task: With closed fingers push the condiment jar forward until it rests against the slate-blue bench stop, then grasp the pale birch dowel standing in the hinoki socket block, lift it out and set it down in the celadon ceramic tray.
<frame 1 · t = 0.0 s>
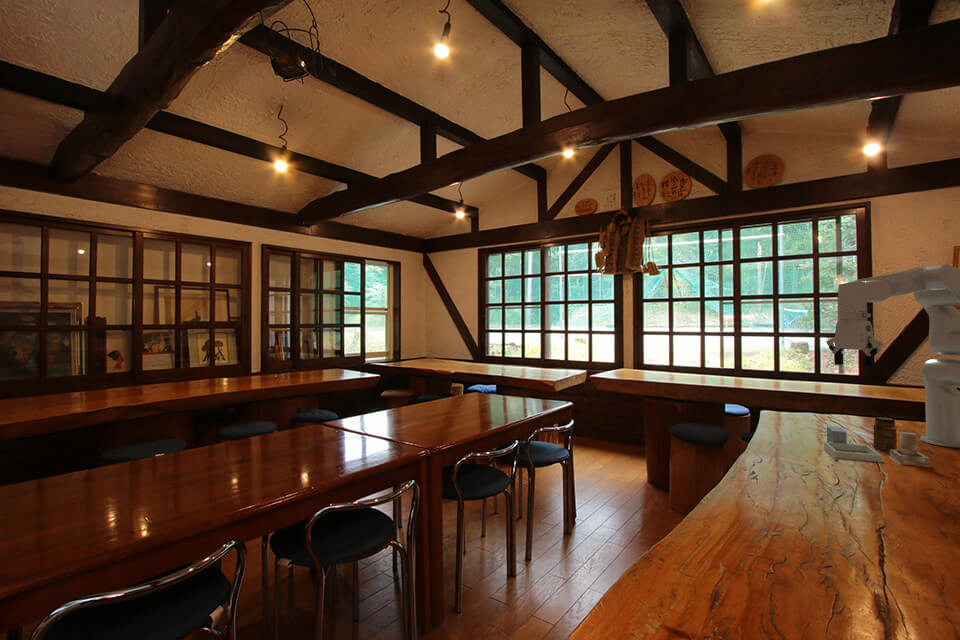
hand: (853, 366, 151), 31 cm above the table, tool pointing down, fingers open, 9 cm apart
socket block: (909, 464, 141), on the table
bench stop: (836, 448, 160), on the table
condiment: (884, 452, 154), on the table
tray: (851, 457, 150), on the table
dowel: (909, 461, 141), point 1 cm above the table, touching socket block
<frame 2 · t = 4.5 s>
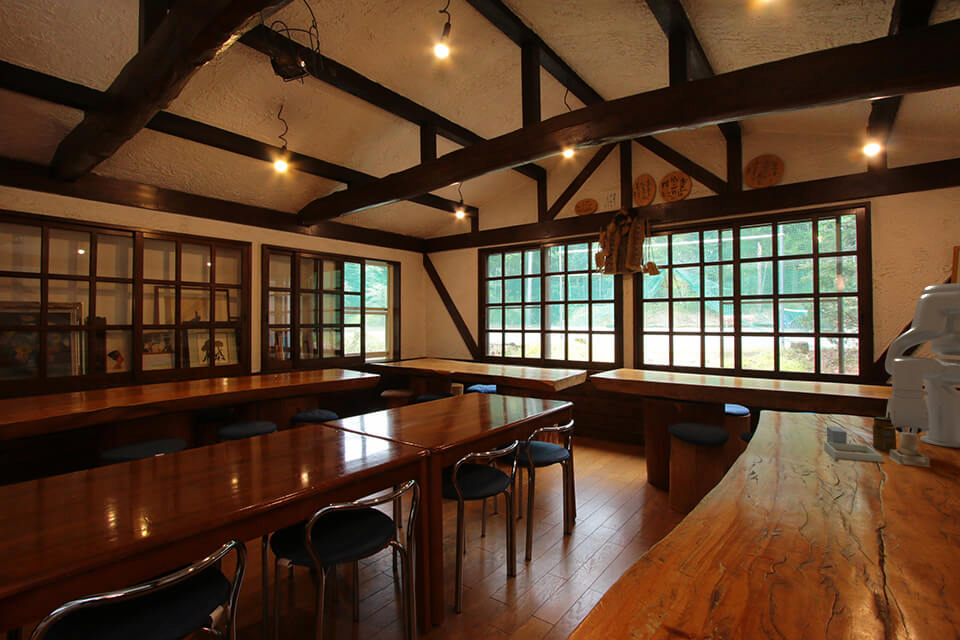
hand: (908, 446, 151), 3 cm above the table, tool pointing down, fingers closed
condiment: (884, 452, 154), on the table, touching gripper
everything else where it was.
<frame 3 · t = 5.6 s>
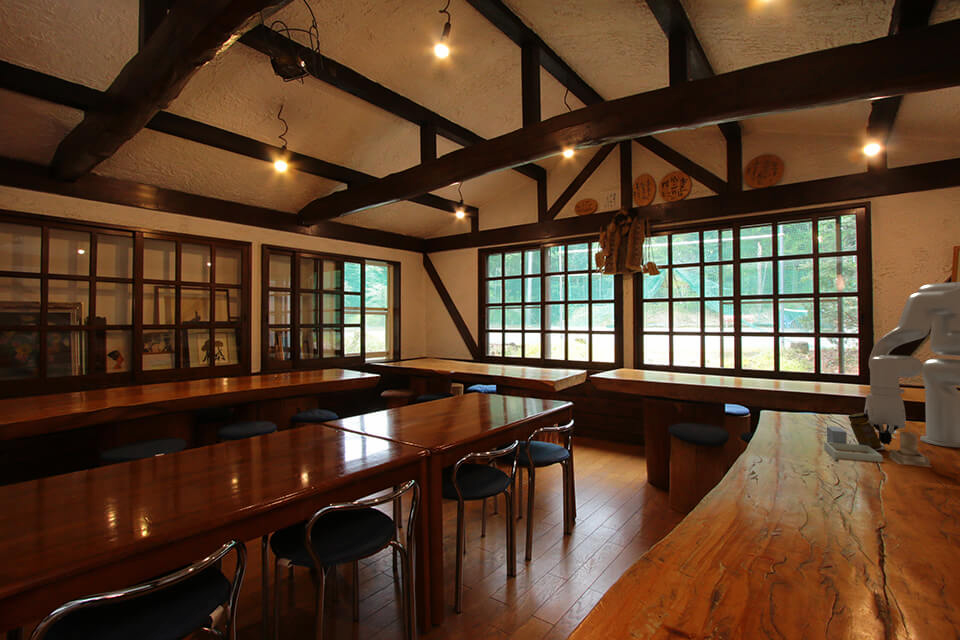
hand: (885, 443, 154), 3 cm above the table, tool pointing down, fingers closed
condiment: (871, 448, 155), point 1 cm above the table, touching gripper
everything else where it was.
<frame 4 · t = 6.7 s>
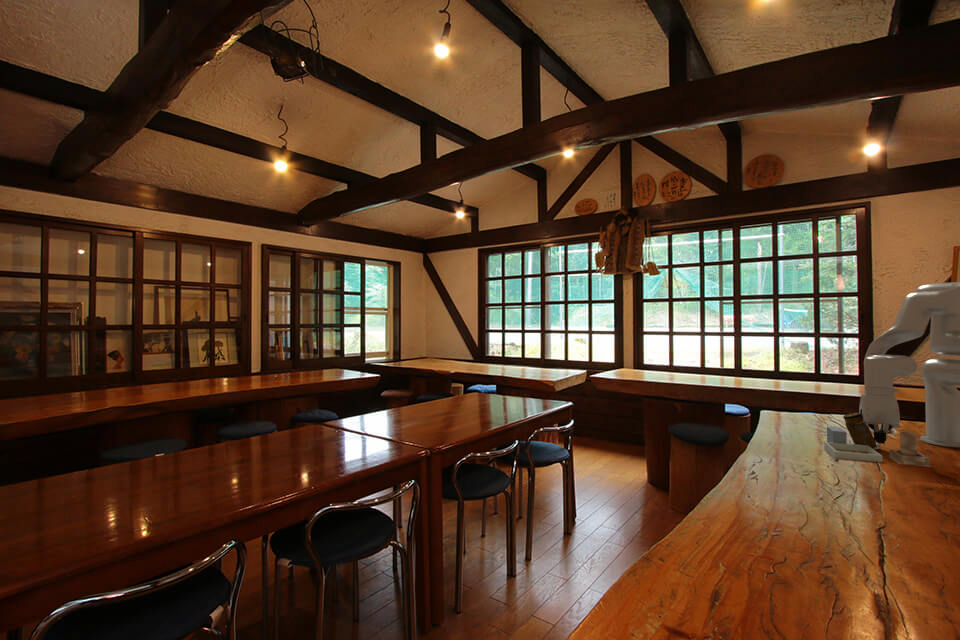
hand: (880, 442, 154), 3 cm above the table, tool pointing down, fingers closed
condiment: (866, 448, 156), point 1 cm above the table, touching gripper
everything else where it was.
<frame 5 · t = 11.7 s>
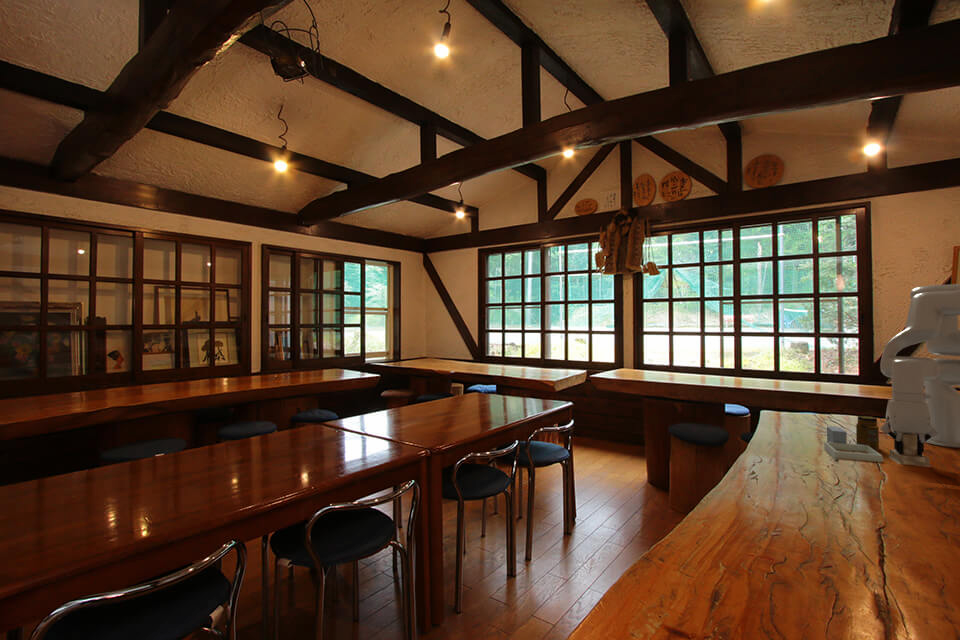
hand: (908, 452, 141), 4 cm above the table, tool pointing down, fingers closed on dowel, 4 cm apart
condiment: (867, 451, 156), on the table
dowel: (909, 461, 141), point 1 cm above the table, touching gripper, socket block
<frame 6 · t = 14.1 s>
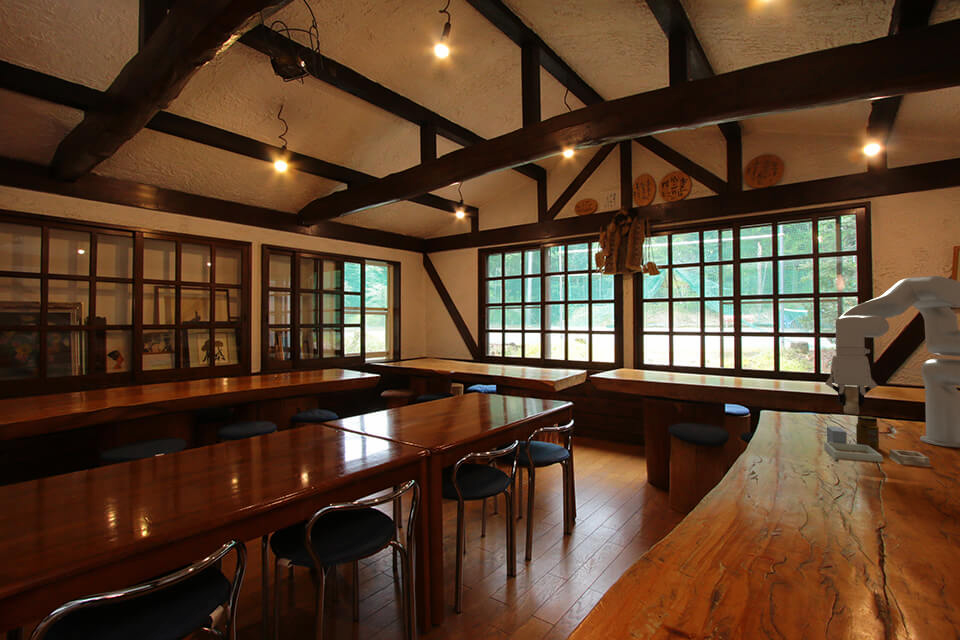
hand: (851, 404, 149), 18 cm above the table, tool pointing down, fingers closed on dowel, 4 cm apart
dowel: (851, 413, 149), point 15 cm above the table, touching gripper
everything else where it was.
when the fingers open (5 cm above the table, at t = 16.8 s): dowel drops 1 cm, resting on tray.
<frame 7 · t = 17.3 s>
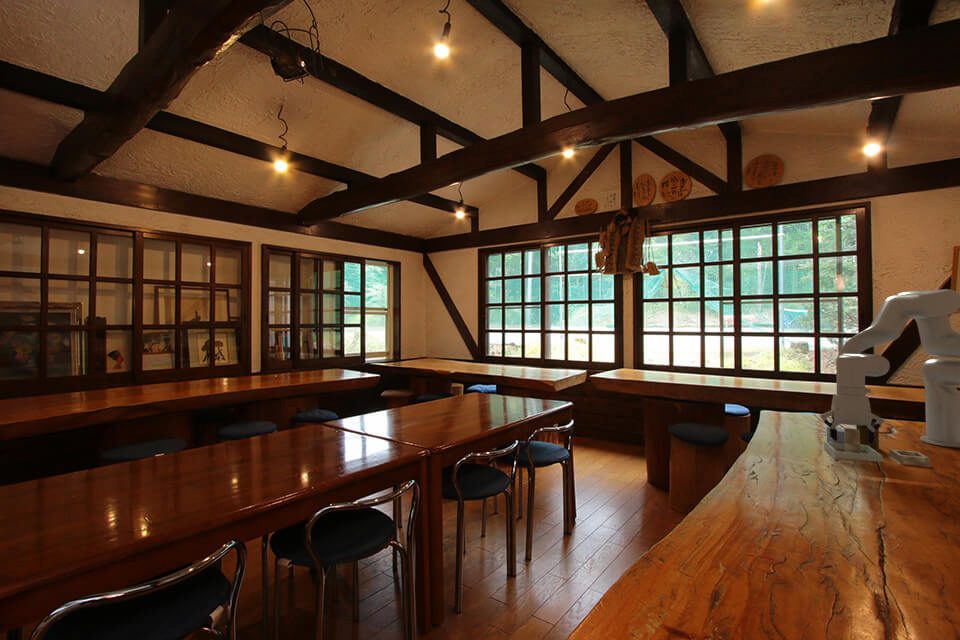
hand: (851, 441, 150), 6 cm above the table, tool pointing down, fingers open, 9 cm apart
dowel: (852, 455, 149), point 1 cm above the table, touching tray
everything else where it was.
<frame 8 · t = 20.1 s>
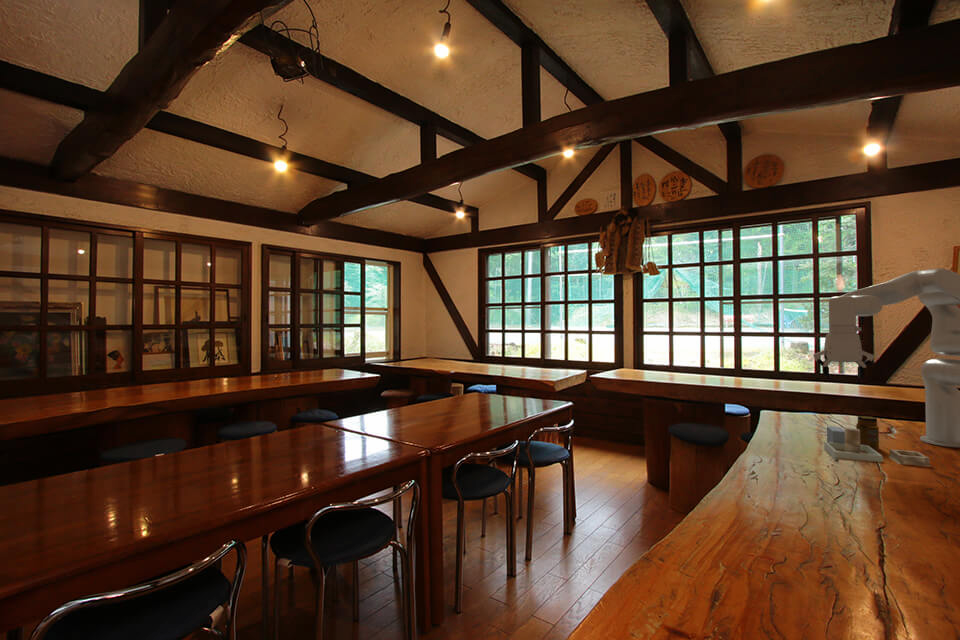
hand: (843, 378, 156), 26 cm above the table, tool pointing down, fingers open, 9 cm apart
nothing on the table moved.
at the end: condiment 2.8 cm from the target spot, on the table; condiment tilted 0°; dowel inside the target area on the tray (0.2 cm from its centre), point 0.6 cm above the tray's base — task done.
